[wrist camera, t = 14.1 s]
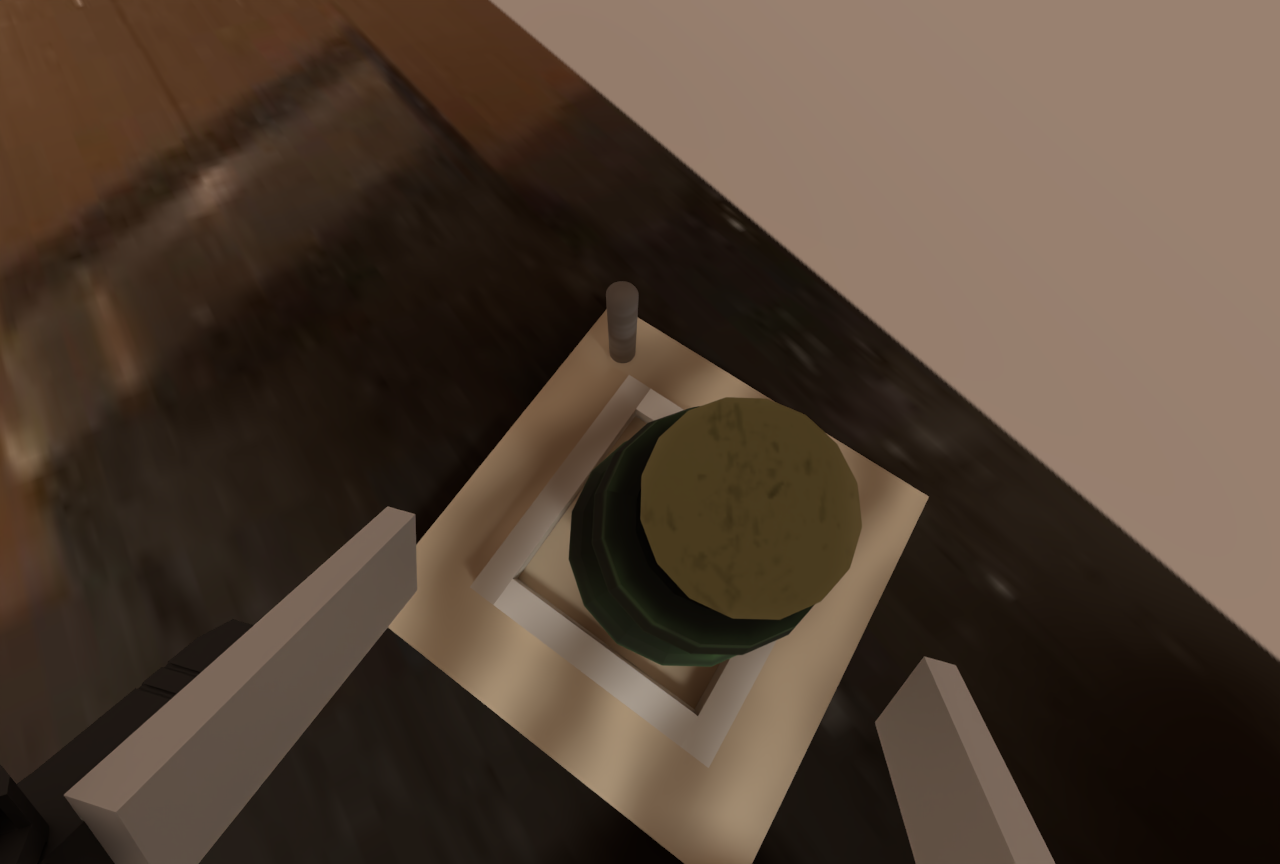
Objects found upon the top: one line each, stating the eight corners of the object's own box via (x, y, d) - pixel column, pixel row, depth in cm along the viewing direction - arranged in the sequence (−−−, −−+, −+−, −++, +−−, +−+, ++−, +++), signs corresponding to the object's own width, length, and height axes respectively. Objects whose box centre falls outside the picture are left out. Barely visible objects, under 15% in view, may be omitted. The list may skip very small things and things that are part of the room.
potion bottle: (724, 649, 24) (990, 845, 7) (570, 612, 24) (438, 707, 7) (748, 495, 26) (989, 342, 9) (608, 463, 26) (580, 255, 9)
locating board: (913, 500, 28) (1013, 475, 21) (726, 881, 22) (775, 1027, 15) (612, 314, 31) (609, 236, 24) (379, 606, 25) (282, 619, 18)
